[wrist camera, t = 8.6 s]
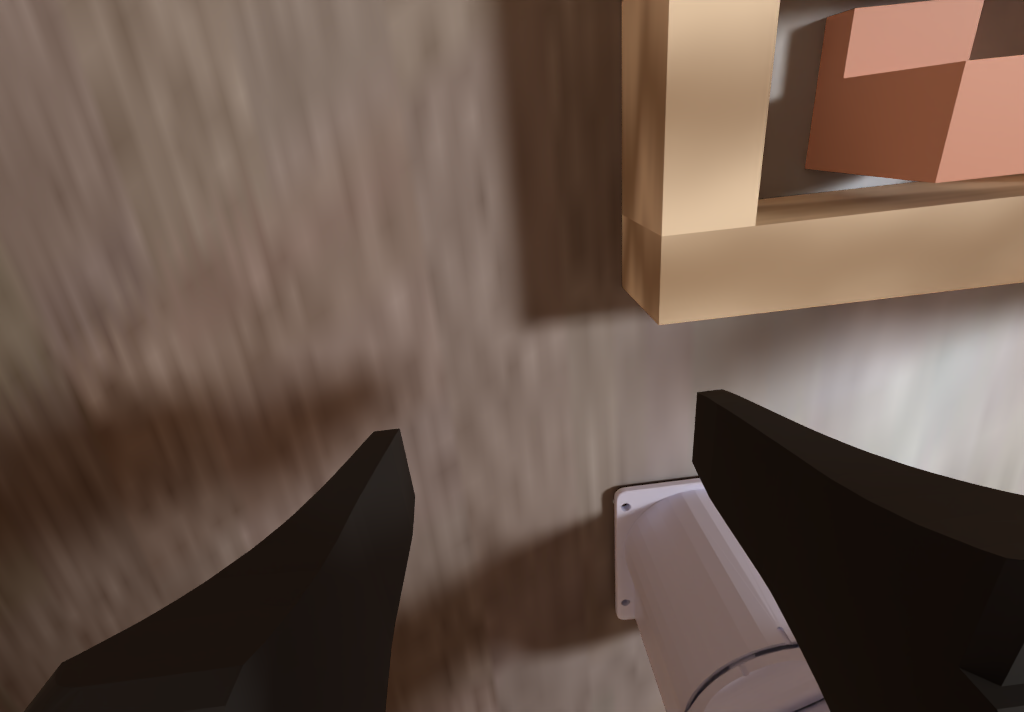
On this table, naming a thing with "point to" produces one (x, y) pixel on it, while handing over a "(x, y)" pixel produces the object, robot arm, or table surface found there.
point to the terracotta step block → (915, 96)
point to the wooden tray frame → (773, 221)
